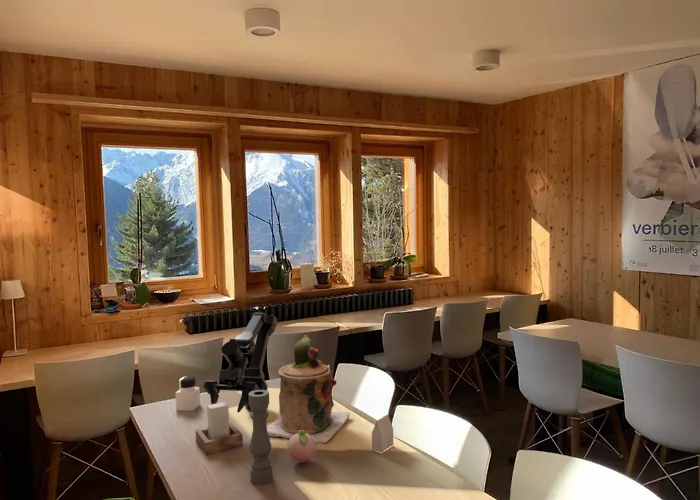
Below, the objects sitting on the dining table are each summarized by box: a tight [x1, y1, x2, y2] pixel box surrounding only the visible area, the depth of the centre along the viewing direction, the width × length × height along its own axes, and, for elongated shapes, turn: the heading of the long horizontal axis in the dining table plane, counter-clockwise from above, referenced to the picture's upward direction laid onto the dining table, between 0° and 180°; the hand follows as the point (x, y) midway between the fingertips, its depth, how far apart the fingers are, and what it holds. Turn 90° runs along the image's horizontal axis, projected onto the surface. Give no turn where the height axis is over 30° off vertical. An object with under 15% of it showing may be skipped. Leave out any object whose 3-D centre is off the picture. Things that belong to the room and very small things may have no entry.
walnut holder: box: [195, 421, 244, 456], centre depth 177 cm, size 12×12×4 cm
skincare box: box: [206, 401, 230, 440], centre depth 177 cm, size 6×4×12 cm
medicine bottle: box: [174, 375, 201, 412], centre depth 211 cm, size 7×7×12 cm
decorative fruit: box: [286, 430, 317, 464], centre depth 162 cm, size 9×8×10 cm
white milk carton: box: [371, 414, 394, 452], centre depth 171 cm, size 4×7×10 cm, turn 144°
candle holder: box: [249, 389, 274, 486], centre depth 152 cm, size 6×6×25 cm
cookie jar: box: [267, 334, 351, 444], centre depth 189 cm, size 25×25×32 cm
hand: (225, 411), depth 182 cm, fingers open, 9 cm apart
